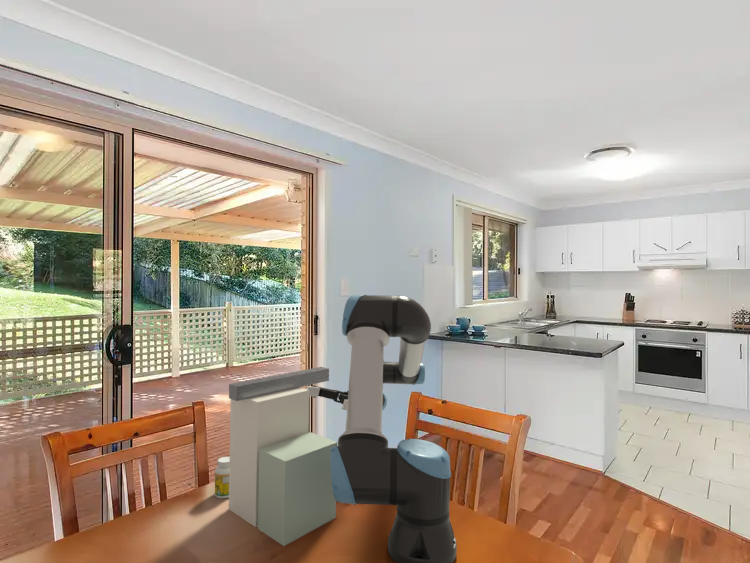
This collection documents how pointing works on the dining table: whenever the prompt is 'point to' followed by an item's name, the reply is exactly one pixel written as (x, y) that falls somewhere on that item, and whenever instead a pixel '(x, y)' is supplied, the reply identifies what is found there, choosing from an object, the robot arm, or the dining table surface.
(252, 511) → the two-step stand
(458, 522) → the dining table surface
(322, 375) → the steel block
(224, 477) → the supplement bottle
